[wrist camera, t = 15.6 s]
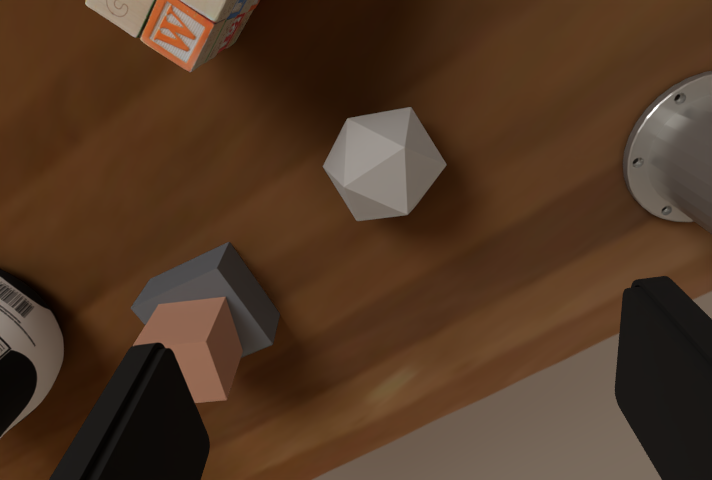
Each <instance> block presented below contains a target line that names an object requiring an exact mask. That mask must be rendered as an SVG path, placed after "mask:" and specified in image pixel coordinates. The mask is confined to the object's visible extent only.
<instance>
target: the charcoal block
mask: <svg viewBox="0 0 712 480" xmlns="http://www.w3.org/2000/svg"><path fill="white" fill-rule="evenodd" d="M217 297H226V300H227V303H228V306H229V309H230V312H231V315H232V318H233V321H234V325H235V328H236V331H237V334H238V337H239V340H240V343H241V346H242V350H243V353H242V356H241V358H242V357H244V356H246V355H249V354H251V353H254V352H256V351H258V350H261V349H263V348H266V347H268V346H271V345H273V342H274V338H275V333H276V329H277V325H278V320H279V316H280V313H279V312H278V310H277V309H276V308H275V306H274V305H273V303H272V302H271V300H270V299H269V298H268V296H267V295H266V293H265V292H264V290H263V289H262V288H261V286H260V285H259V283H258V282H257V280H256V279H255V278H254V276H253V275H252V273H251V272H250V270H249V269H248V267H247V266H246V265H245V263H244V262H243V260H242V259H241V257H240V256H239V255H238V253H237V252H236V250H235V249H234V247H233V246H232V245H231V243H230V242H228V243H225V244H223V245H221V246H219V247H217V248H215V249H213V250H211V251H209V252H206V253H204V254H202V255H200V256H198V257H196V258H194V259H192V260H190V261H187V262H185V263H183V264H181V265H179V266H177V267H175V268H173V269H171V270H169V271H166V272H164V273H162V274H160V275H158V276H156V277H154V278H152V279H150V280H149V281H148V283H147V284H146V286H145V287H144V289H143V290H142V292H141V293H140V295H139V296H138V298H137V299H136V301H135V302H134V304H133V305H132V307H131V309H132V310H133V311H134V313H135V314H136V315H137V316H138V317H139V318H140V320H141V321H142V322H143V323H144V324H145V325H146V324H147V322H148V320H149V319H150V317H151V316H152V314H153V312H154V311H155V309H156V308H157V306H158V304H165V303H174V302H183V301H191V300H200V299H209V298H217Z"/></svg>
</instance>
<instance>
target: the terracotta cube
mask: <svg viewBox="0 0 712 480" xmlns="http://www.w3.org/2000/svg"><path fill="white" fill-rule="evenodd" d="M157 342H159V343H162V344H163V345H164V346H165V348H170V349H172V351H173V352H174V354H175V357H176V359H177V362H178V364H179V366H180V369H181V371H182V374H183V376H184V378H185V381H186V383H187V386H188V388H189V390H190V393H191V395H192V398H193V400H194V402H195V403H200V402H211V401H221V400H227V398H228V395H229V392H230V389H231V386H232V383H233V380H234V377H235V374H236V371H237V368H238V365H239V362H240V359H241V356H242V353H243V350H242V346H241V343H240V340H239V337H238V334H237V331H236V328H235V325H234V321H233V318H232V315H231V312H230V309H229V306H228V303H227V300H226V297H217V298H209V299H200V300H191V301H183V302H174V303H165V304H158V306H157V308H156V309H155V311H154V312H153V314H152V316H151V317H150V319H149V320H148V322H147V324H146V325H145V327H144V328H143V330H142V332H141V333H140V335H139V336H138V338H137V340H136V341H135V343H134V345H142V344H149V343H157ZM134 345H133V346H134Z"/></svg>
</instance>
